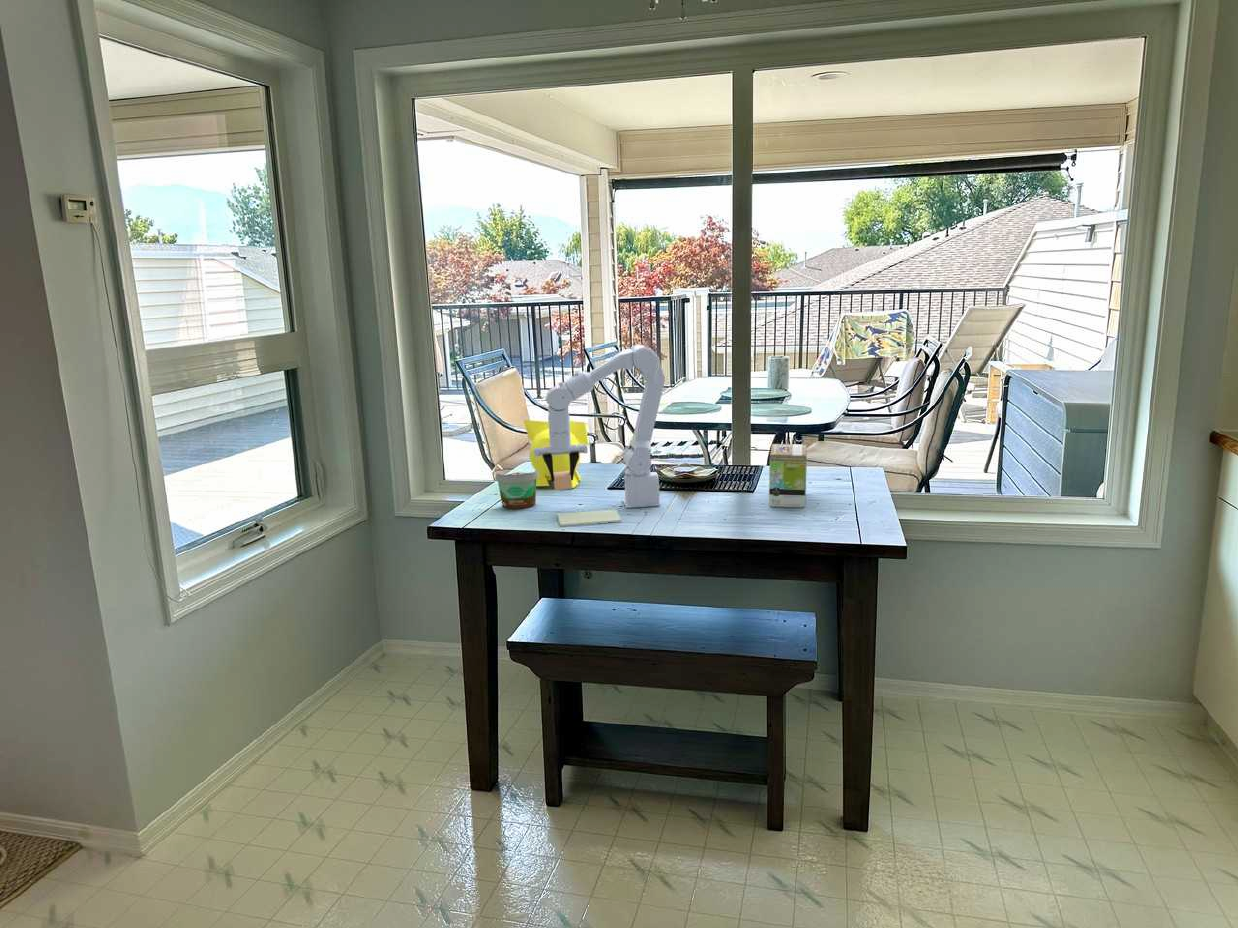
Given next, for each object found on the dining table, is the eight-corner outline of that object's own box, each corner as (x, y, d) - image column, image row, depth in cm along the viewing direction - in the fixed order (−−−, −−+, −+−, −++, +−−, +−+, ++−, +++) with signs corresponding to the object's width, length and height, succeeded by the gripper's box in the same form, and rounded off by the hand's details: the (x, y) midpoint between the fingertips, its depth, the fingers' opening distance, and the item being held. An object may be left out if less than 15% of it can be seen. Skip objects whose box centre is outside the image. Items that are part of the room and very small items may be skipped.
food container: (498, 512, 242) (496, 477, 240) (497, 506, 248) (494, 472, 246) (542, 508, 245) (540, 473, 242) (540, 502, 250) (538, 468, 248)
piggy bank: (592, 474, 281) (589, 415, 277) (583, 490, 262) (580, 427, 258) (531, 475, 284) (527, 416, 279) (518, 490, 265) (514, 428, 260)
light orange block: (571, 488, 238) (571, 476, 237) (555, 489, 237) (554, 477, 237) (569, 483, 244) (569, 471, 243) (553, 484, 243) (552, 472, 242)
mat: (616, 511, 239) (616, 509, 239) (621, 521, 229) (621, 519, 229) (557, 515, 237) (557, 513, 237) (560, 526, 227) (560, 524, 227)
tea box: (806, 508, 235) (807, 454, 232) (768, 507, 238) (768, 454, 234) (806, 493, 250) (806, 442, 246) (770, 492, 252) (770, 442, 248)
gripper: (584, 427, 242) (587, 474, 245) (532, 430, 240) (535, 478, 243) (587, 431, 235) (589, 480, 238) (533, 435, 233) (536, 484, 236)
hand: (562, 480), depth 240 cm, fingers closed on light orange block, 4 cm apart
